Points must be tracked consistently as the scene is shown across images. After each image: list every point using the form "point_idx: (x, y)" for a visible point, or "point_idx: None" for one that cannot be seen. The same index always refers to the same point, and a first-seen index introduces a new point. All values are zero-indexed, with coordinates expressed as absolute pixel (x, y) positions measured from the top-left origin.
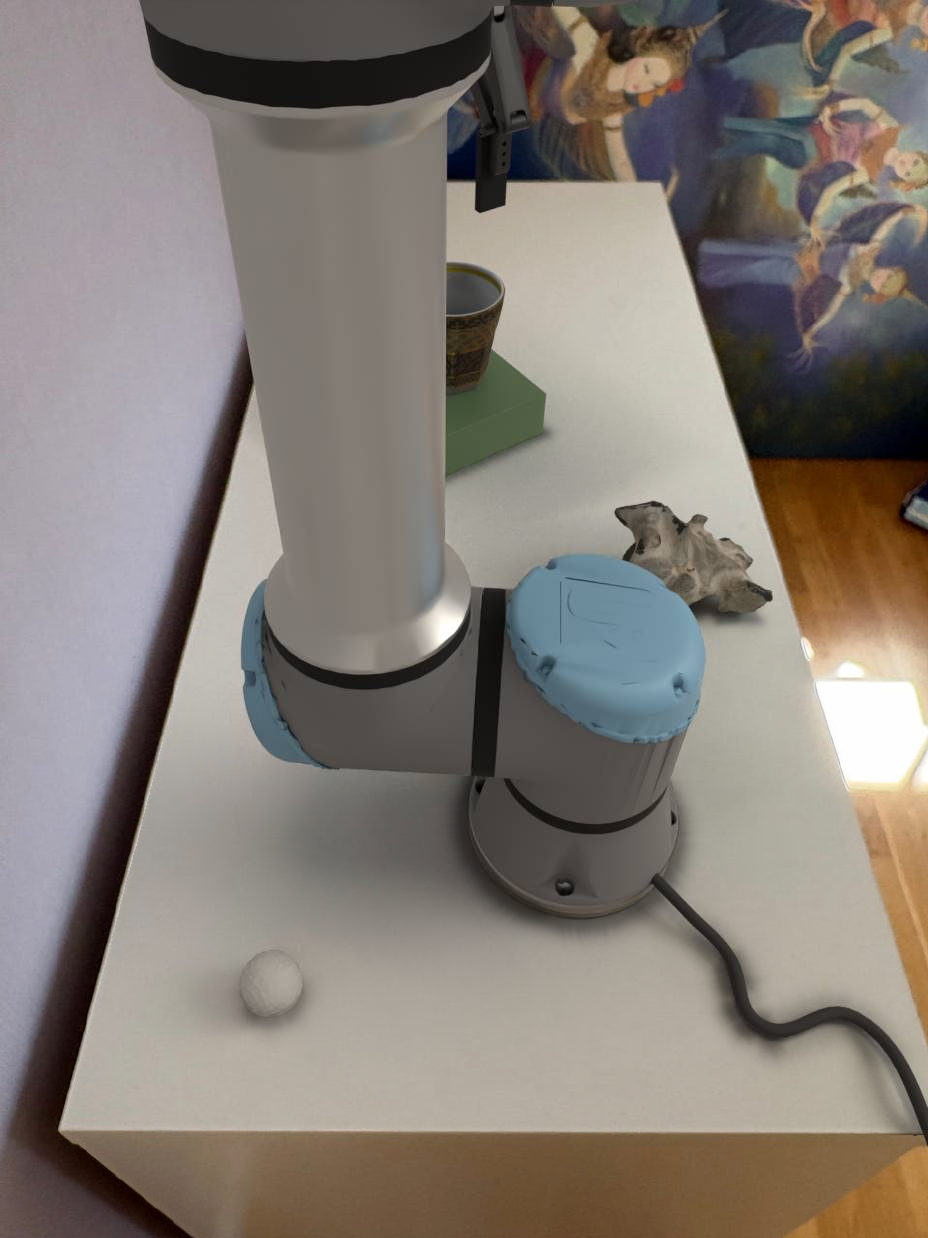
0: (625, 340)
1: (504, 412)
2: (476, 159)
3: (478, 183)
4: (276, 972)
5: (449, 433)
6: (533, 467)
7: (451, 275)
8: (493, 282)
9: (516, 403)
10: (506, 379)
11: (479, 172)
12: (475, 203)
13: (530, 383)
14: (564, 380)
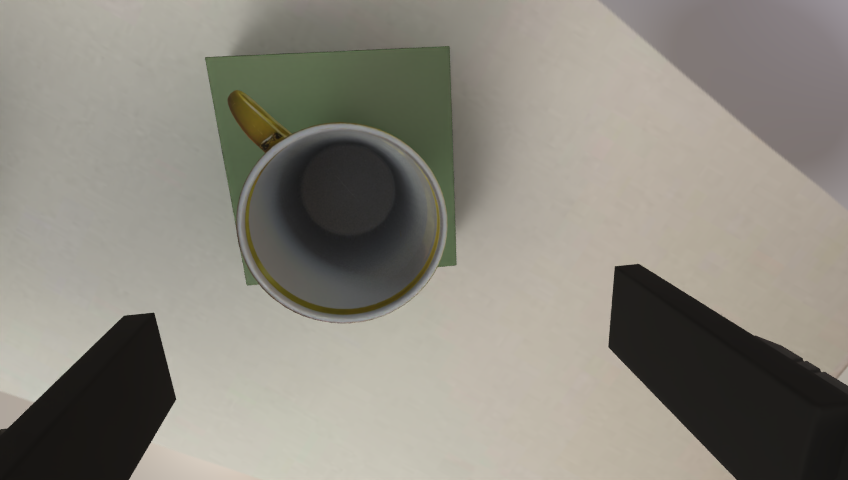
0: (383, 439)
1: (233, 211)
2: (56, 418)
3: (84, 364)
4: None
5: (215, 110)
6: (199, 214)
7: (423, 260)
8: (348, 310)
9: None
10: None
11: (57, 391)
12: (140, 323)
13: None
14: (347, 338)
